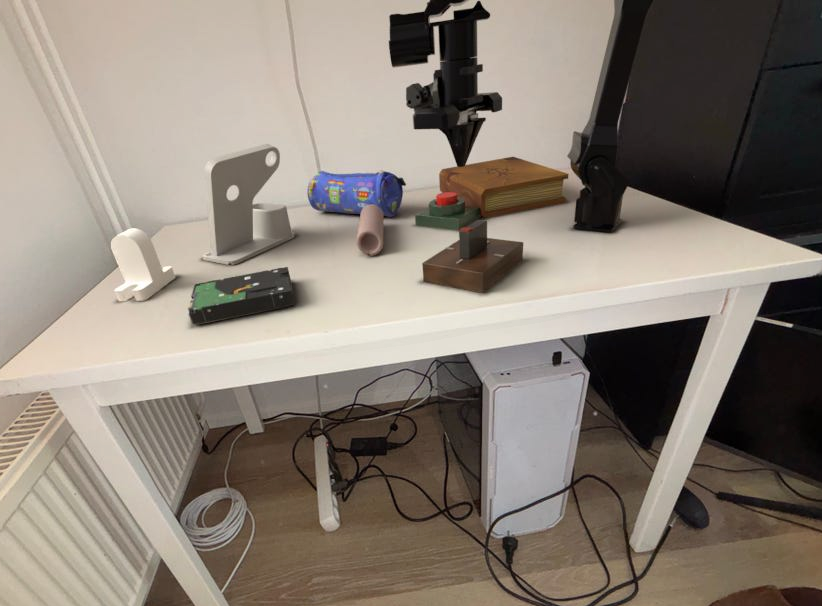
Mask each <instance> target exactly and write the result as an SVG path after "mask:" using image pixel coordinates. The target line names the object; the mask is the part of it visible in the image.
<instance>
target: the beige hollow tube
mask: <svg viewBox="0 0 822 606" xmlns="http://www.w3.org/2000/svg"><path fill="white" fill-rule="evenodd" d="M359 215H360V216H359V222H358V229H357V234H356V235H357V236H356V246H357V248H358V250H359V251H360V252H361V253H363V254H366V255H369V256H370V257H374V256H376V255H377V254H379V253H380V252H381V251H382V249H383V247H384V215H383V212H382V210H381V209H380V208H379V207H378V206H376V205H373V204H370V205H367V206H365V207H364V208H363V209H362V211H361V214H359Z"/></svg>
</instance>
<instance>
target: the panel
mask: <svg viewBox="0 0 822 606" xmlns="http://www.w3.org/2000/svg"><path fill="white" fill-rule="evenodd" d="M523 261H524V242H523V241H515V240H509V239H499V238H491V237H487V247H486V248H484V249H483V250H481V251H480V252H479V253H477V254H476V255H474V256H473V257H471V258H470V259H466V258H460V245H459V239H458V240H456V241H455V242H453V243H452V244H450V245H449V246H446V247H445V248H443V249H442V250H441V251H438V253H435V254H434V255H433V256H431V257H429V258H428V259H426V260H425V261H423V262H422V263H421V265H422V279H423V282H424V283H429V284H435V285H440V286H445V287H449V288H454V289H459V290H466V291H469V292H476V293H480V294H481V293H482V294H483V293H485V292H486V291H487V290H488V289H490V288H491V287H492V286H493V285H495V284H496V283H497V282H498V281H499V280H501V279H502V278H504V276H505V275H507V274H508V273H509V272H511V271H512V270H513V269H514V268H516V266H518V265H519V264H521V263H523Z"/></svg>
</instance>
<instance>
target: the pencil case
mask: <svg viewBox="0 0 822 606" xmlns="http://www.w3.org/2000/svg"><path fill="white" fill-rule="evenodd" d="M406 185H407V183H406V181H405V180H404V178H403V177H398V176H397V175H396V174H394V173H392V172H390V171H386V170H385V171H384V170H383V169H380V170H378V171H376V172H374V173H373V172H364V173H363V172H356V173H355V172H354V173H332V172H331V173H330V172H328V171H324V170H320V171H318V172H317V173H316V174H315V175H314V176H313V177H312V178H311V179H310V180H309V182H308V185H307V189H306V191H307V192H306V195H307V199H308V202H309V204H310V206H311V207H312V209H314V210H315V211H318V212H326V213H327V212H328V213H331V212H332V213H340V214H351V215H354V214H355V215H360V214H361V211H362V209H363V208H364V207H365V206H367V205H370V204H373V205H376V206H378V207H379V208H380V209H381V210H382V212H383V217H385V216H386V217H389V218H393V217H395V216H396V214H397V213H398V211H399V209H400V207H401V204H402V201H403V195H404V189H403V187H405V186H406Z"/></svg>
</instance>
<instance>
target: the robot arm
mask: <svg viewBox="0 0 822 606" xmlns="http://www.w3.org/2000/svg"><path fill="white" fill-rule="evenodd" d="M468 2H470V0H429V1H428V2H426V7H425V9H424V10H423V11H417V12H411V13H410V12H409V13H392V14H389V16H388V17H389V19H388V20H389V40H388V50H389V57H390V63H391V67H392V69H393V68H400V67H401V68H402V67H409V66H417V65H423V64H424V65H425V64H429V56H435V55H436V41H435V40H436V39H435V28H437V29H438V51H439V69H435V70H434V72H433V75H432V76H433V78H432V79H433V80H432V81H433V82H430V83H429V84H426V85H423V86H422V84H421V83H419V82H416V83H412V84H410V85H408V86H406V88H405V100H406V103H405V104H406V105H405V106H406V107H407V108H409V109H410V110H412V109H413V112H414V113H413V114H412V124H413V130H439V131H440V132H441V133H443V134H444V136H445V137H446V139H447V141H448V144H449V146H450V150H451V152H452V155H453V158H454V160H455V163H456V167H457V166H458V167H463V166H465V165H467V162H468V159H469V157H470V154H471V152H472V150H473V147H474V145H475V142H476V140H477V137H478V136H479V134H480V131H481V129H482V127H483V125H484V123H485V122H486V119H487V117H479V113H478V112H491V113H498V112H501V111H502V110H503V97H502V96H501V94H500V93H499V92H498V91H493V92H480V93H478V92H479V91H478V89H479V85H478V83H479V82H478V77H479V76H478V73H482V72H483V71H484V65H483V63H478V22H480V21H486V20H489V19H490V18H491V13H490V12H489V11H488V10H487V9H486V8H485V7H484V6H483V4H482V2H481V0H477V1H476V2H475V5H473V7H470V8H463V9H457V10H453V12H452V13H453V18H452V19H446V20H439V21H432V22H431V19H434V18H441V17H442V16H443V15H444V14H445V13H446V12H447V11H448V10H449V9H450V8H451V7H460V6H462V5H464V4H466V3H468ZM613 2H614V3H613V4H614V5H613V7H614V12H613V13H614V14H613V19H612V23H611V27H610V31H609V36H608V39H607V44H606V48H605V51H604V56H603V60H602V65H601V69H600V73H599V77H598V81H597V85H596V90H595V94H594V96H593V97H594V98H593V101H592V106H591V110H590V114H589V118H588V121H587V123H586V124H585V126H584V128H583V130H582V132H579V131H575V130H574V131H573V133H572V141H571V142H572V143H571V148H570V151H569V152H568V154H567V156H566V157H567V158H568V159H569V160H570V169H571V170H572V172H573V173H574V175H575V176H576V177H577V178H578V179H579V180H580V182H581V184H582V186H584V187H583V188H581V189H580V190H579V197H578V198H576V199H575V207H574V218H573V222H574V224H573V226H572V229H574V230H583V231H594V232H604V233H612V232H613V231H614V230H616V228H617V227H619V225H620V224H621V223H622V222H623V218H621V214H622V213H621V212H622V211H621V210H622V206H623V205H622V204H623V198H624V194H625V192H626V190H627V188H628V186H629V185H630V181H629V179H628V178H627V177H626V176H625V175H624V174H623V173H622V172H621V171H620V170H618V168H617V163H618V153H619V128H618V127H619V126H618V125H619V120H620V117H621V113H622V109H623V105H624V102H625V97H626V94H627V91H628V86H629V83H630V80H631V76H632V72H633V68H634V66H635V65H634V64H635V61H636V57H637V53H638V50H639V46H640V44H641V43H640V42H641V39H642V35H643V31H644V29H645V28H644V27H645V23H646V20H647V17H648V14H649V11H650V9H651V8H652V6H653V4H654V2H655V0H613Z"/></svg>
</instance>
